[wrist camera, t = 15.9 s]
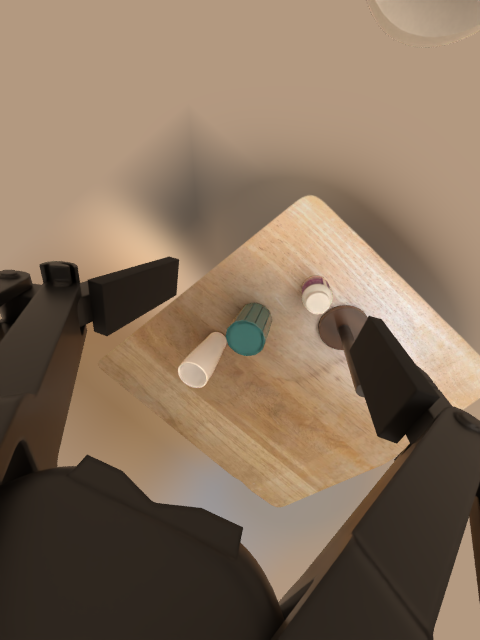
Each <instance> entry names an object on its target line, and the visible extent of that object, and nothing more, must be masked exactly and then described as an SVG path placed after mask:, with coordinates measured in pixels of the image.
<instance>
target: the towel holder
mask: <svg viewBox="0 0 480 640" xmlns="http://www.w3.org/2000/svg"><path fill="white" fill-rule="evenodd" d="M367 318H368V317H367V316H366V314H365V313H364V312H363V311H361V310H360V309H358V308H356V307H353V306H347V305H346V306H338V307H334V308H332V309H330V310H329V311H327V312H326V313H325V314H324V315H323V316H322V318H321V320H320V322H319V333H320V337H321V339H322V340H323V341H324V343H326V344H327V345H328V346H330V347H332V348H334V349H338V350H344V353H345V356H346V360H347V363H348V367H349V370H350V373H351V377H352V380H353V384H354V387H355V391H356V393H357V394H358V395H359V396H361V397H364V394H363V391H362V388H361V385H360V382H359V379H358V376H357V373H356V370H355V367H354V364H353V361H352V358H351V355H350V352H349V350H350V348H351V347H352V345H353V343H354V341H355V340H356V338H357V336H358V334H359V333H360V331H361V329H362V327H363V325H364V324H365V322H366V320H367Z"/></svg>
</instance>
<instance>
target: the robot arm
mask: <svg viewBox="0 0 480 640" xmlns="http://www.w3.org/2000/svg"><path fill="white" fill-rule="evenodd" d="M178 266H179V259H176V258H172V257H167V258H163V259H160V260H156V261H152V262H149V263H145V264H142V265H138V266H135V267H131V268H128V269H124V270H121V271H117V272H113V273H110V274H106V275H103V276H99V277H96V278H93V279H90V280H88V281H86V282H82V283H80V280H79V274H78V267H77V265H75V264H73V263H69V262H62V261H54V262H45V263H42V264H40V270H41V274H42V278H43V284H42V285H38V284H32V281H31V277H30V274H28V273H26V272H22V271H15V270H3V271H0V314H1V317H2V319H1V320H0V640H433V631H434V627H435V623H436V620H437V617H438V614H439V610H440V607H441V604H442V601H443V598H444V595H445V591H446V588H447V585H448V582H449V578H450V575H451V572H452V569H453V566H454V563H455V559H456V556H457V553H458V550H459V547H460V543H461V540H462V537H463V534H464V530H465V527H466V524H467V521H468V518H470V526H471V534H472V542H473V550H474V559H475V568H476V576H477V584H478V591H479V592H478V593H479V601H480V421H479V420H478V419H476V418H475V417H473V416H472V415H470V414H469V413H467V412H465V411H463V410H461V409H458V408H456V407H452V405H451V404H450V403H449V401H448V400H447V399H446V398H445V396H444V395H443V394H442V392H441V391H440V390H438V387H437V386H436V385H435V384H434V383H433V381H432V380H431V378H430V377H429V376H428V375H427V374H426V373H425V372H424V371H423V370H422V369H420V368H419V367H418V366H416V364H415V363H414V362H413V360H412V359H411V358H410V356H409V355H408V354H407V352H406V351H405V350H404V348H403V347H402V346H401V344H400V343H399V342H398V340H397V339H396V338H395V337H394V335H393V334H392V333H391V331H390V330H389V329H388V327H387V326H386V325H385V323H384V322H383V321H382V319H378V318H375V317H372V316H369V317H368V318H367V320H366V322H365V324H364V325H363V327H362V329H361V331H360V333H359V334H358V336H357V338H356V340H355V341H354V343H353V345H352V347H351V348H350V350H349V352H350V355H351V358H352V361H353V364H354V367H355V370H356V373H357V376H358V379H359V382H360V385H361V388H362V391H363V394H364V397H365V400H366V403H367V406H368V409H369V412H370V415H371V418H372V421H373V424H374V427H375V430H376V433H377V436H378V437H380V438H383V439H386V440H389V441H391V442H394V443H398V442H399V441H400V440H401V439H402V438H403V437H404V435H405V434H406V436H407V438H408V440H409V442H410V444H409V445H408V446H407V447H406V448H405V449H404V450H403V451H402V452H401V453H400V454H399V455H398V456H397V457H396V458H395V459H394V460H395V461H394V463H393V464H392V465H391V466H390V468H389V469H388V470H387V471H386V473H385V474H384V475H383V476H382V478H381V479H380V480H379V481H378V482H377V484H376V485H375V486H374V488H373V489H372V490H371V491H370V492H369V494H368V495H367V496H366V497H365V499H364V500H363V501H362V502H361V504H360V505H359V506H358V507H357V509H356V510H355V511H354V512H353V513H352V515H351V516H350V517H349V518H348V520H347V521H346V522H345V523H344V525H343V526H342V527H341V528H340V530H339V531H338V532H337V533H336V534H335V536H334V537H333V538H332V539H331V541H330V542H329V543H328V545H327V546H326V547H325V548H324V549H323V551H322V552H321V553H320V554H319V556H318V557H317V558H316V559H315V560H314V562H313V563H312V564H311V565H310V567H309V568H308V569H307V570H306V572H305V573H304V574H303V575H302V576H301V577H300V579H299V580H298V581H297V582H296V583H295V584H294V585H293V586H292V587H291V588H290V590H289V591H288V592H287V593H286V594H285V595H284V597H283V598H282V599H281V600H280V601H279V602H278V600H277V598H276V596H275V593H274V591H273V588H272V586H271V585H270V583H269V581H268V579H267V577H266V575H265V573H264V571H263V570H262V568H261V567H260V565H259V564H258V562H257V561H256V559H255V558H254V557H253V556H252V554H251V553H250V552H249V551H248V550H247V549H246V548H245V547H244V546H243V545H242V544H241V543H240V541H241V535H242V530H243V527H241V526H239V525H237V524H235V523H232V522H230V521H228V520H226V519H224V518H222V517H220V516H217V515H215V514H213V513H211V512H209V511H207V510H205V509H202V508H196V507H187V506H178V505H169V504H160V503H155V502H153V501H151V500H150V499H149V498H148V497H147V496H146V495H145V494H144V493H143V492H142V491H141V490H140V489H139V488H138V487H137V486H136V485H135V484H134V483H133V482H132V480H131V479H130V478H129V477H128V476H127V475H126V474H125V473H123V471H121V470H119V469H117V468H115V467H112V466H110V465H108V464H106V463H104V462H102V461H100V460H98V459H95V458H93V457H91V456H89V455H86V456H85V458H84V459H83V460H82V461H81V462H80V463H79V464H78V465H77V466H68V467H57V460H58V453H59V448H60V444H61V440H62V436H63V431H64V427H65V423H66V419H67V414H68V410H69V406H70V401H71V397H72V393H73V389H74V384H75V380H76V376H77V372H78V367H79V363H80V359H81V354H82V350H83V346H84V342H85V337H86V333H87V328H86V324H88V323H90V322H92V321H93V327H94V331H95V332H97V333H100V334H103V335H105V336H108V335H110V334H112V333H113V332H115V331H117V330H118V329H120V328H122V327H123V326H125V325H126V324H129V323H130V322H132V321H134V320H135V319H137V318H139V317H140V316H142V315H144V314H145V313H147V312H148V311H150V310H152V309H154V308H155V307H157V306H159V305H160V304H162V303H163V302H165V301H167V300H169V299H170V298H172V297H174V296H175V295H176V292H177V279H178Z"/></svg>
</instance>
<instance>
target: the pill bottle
mask: <svg viewBox="0 0 480 640" xmlns="http://www.w3.org/2000/svg"><path fill="white" fill-rule="evenodd" d="M332 299H333V296H332V292H331V289H330V286H329V284H328V282H327V281H326V279H324V278H323V277H321V276H312V277H309V278H308V279H306V280H305V282H304V283H303V286H302V302H303V305H304V306H305V308H307V309H308V311H309V312H311V313H313V314H322V313H324V312H326V311H327V310H328V309H329V307H330V305H331V303H332Z"/></svg>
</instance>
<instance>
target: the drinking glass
mask: <svg viewBox="0 0 480 640" xmlns="http://www.w3.org/2000/svg"><path fill="white" fill-rule="evenodd" d="M226 345H227V340H226V337H225V336H224V335H223V334H222V333H220V332H212V333H210V334H209V335H208V337H207V338H206V339H205V340H204V341H203V342H201V343H200V344H199V345H198V346H197V347H196V348H195V349H194V350H193V351H192V352H191V353H190V354H189V355H188V356H187V357H186V358H185V359H184V361H183V362H182V363H181V365H180V366H179V368H178V374H179V377H180V378H181V380H182V381H183V382H184V383H185V384H187V385H188V386H190V387H194V388H200V387H203V386H204V385H205V384H206V383H207V382H208V380H209V379H210V377H211V375H212V374H213V372H214V370H215V368H216V366H217V363H218V361H219V359H220V357H221V355H222V352H223V350H224V348H225V347H226Z"/></svg>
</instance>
